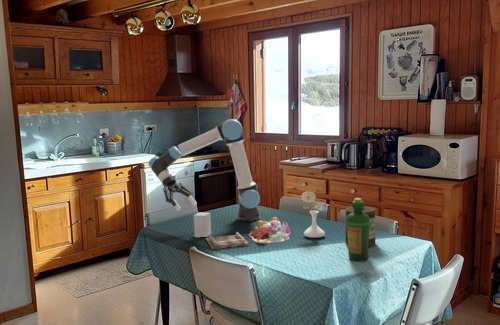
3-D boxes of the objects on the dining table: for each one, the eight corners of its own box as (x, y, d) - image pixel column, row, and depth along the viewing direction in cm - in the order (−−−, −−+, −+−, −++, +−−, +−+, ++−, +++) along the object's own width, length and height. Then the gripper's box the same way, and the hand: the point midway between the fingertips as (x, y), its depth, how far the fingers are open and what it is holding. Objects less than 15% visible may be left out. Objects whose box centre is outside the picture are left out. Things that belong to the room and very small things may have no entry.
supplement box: (211, 234, 265) (210, 212, 263) (206, 238, 258) (205, 215, 256) (199, 233, 267) (198, 212, 266) (194, 237, 260) (193, 215, 259)
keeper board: (239, 236, 259) (239, 230, 259) (248, 245, 242) (248, 239, 241) (205, 240, 254) (205, 234, 254) (212, 249, 237) (211, 243, 236)
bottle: (343, 255, 221) (343, 197, 218) (365, 254, 222) (365, 195, 219) (350, 263, 211) (349, 201, 207) (373, 261, 211) (373, 200, 208)
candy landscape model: (242, 234, 265) (241, 218, 264) (280, 228, 273) (279, 213, 272) (259, 245, 242) (259, 228, 241) (300, 239, 250) (300, 222, 249)
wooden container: (358, 250, 229) (358, 205, 226) (339, 242, 242) (339, 200, 239) (381, 244, 235) (381, 201, 233) (361, 238, 249) (361, 197, 246)
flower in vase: (327, 234, 257) (327, 189, 254) (321, 240, 246) (321, 193, 243) (304, 232, 262) (303, 188, 259) (298, 238, 252) (297, 192, 249)
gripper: (178, 180, 285) (198, 207, 279) (148, 187, 265) (168, 216, 258) (184, 172, 282) (205, 199, 275) (154, 178, 261) (175, 207, 255)
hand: (187, 207), depth 267 cm, fingers open, 13 cm apart
